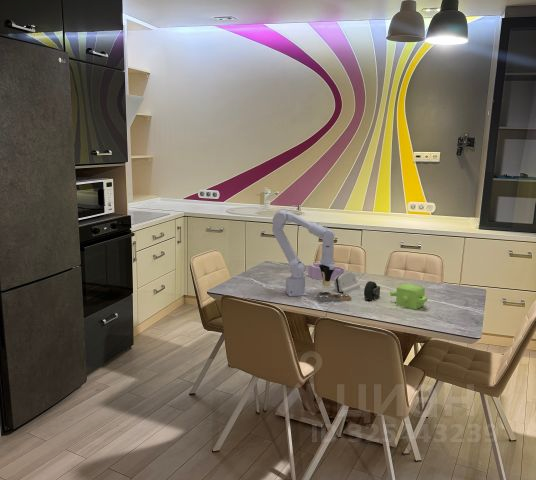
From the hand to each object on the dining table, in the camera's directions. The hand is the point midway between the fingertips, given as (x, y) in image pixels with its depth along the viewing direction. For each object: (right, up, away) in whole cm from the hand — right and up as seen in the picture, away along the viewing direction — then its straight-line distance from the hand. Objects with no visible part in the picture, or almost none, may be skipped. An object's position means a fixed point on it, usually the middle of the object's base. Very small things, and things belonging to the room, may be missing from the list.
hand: (326, 280), depth 249 cm
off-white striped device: (+12, -6, +14) cm, 20 cm away
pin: (0, -3, 0) cm, 3 cm away
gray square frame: (0, -8, +2) cm, 8 cm away
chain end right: (+6, -9, -3) cm, 12 cm away
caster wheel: (+24, -9, 0) cm, 25 cm away
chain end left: (+1, -9, -5) cm, 11 cm away
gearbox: (+38, -12, -10) cm, 41 cm away
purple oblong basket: (+4, -2, +36) cm, 36 cm away
